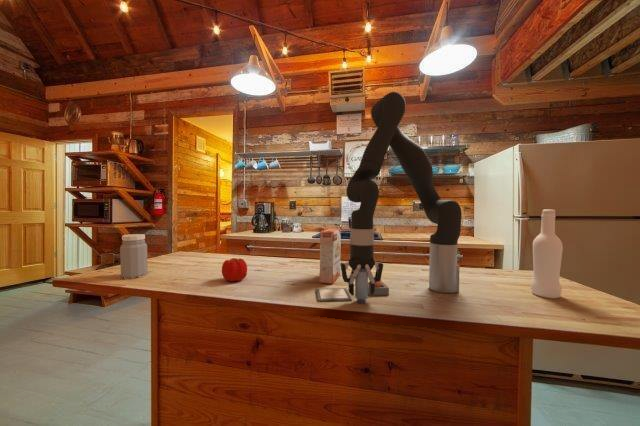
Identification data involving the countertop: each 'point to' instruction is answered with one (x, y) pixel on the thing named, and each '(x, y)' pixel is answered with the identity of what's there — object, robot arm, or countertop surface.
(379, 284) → the button
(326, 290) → the board
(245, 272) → the tomato
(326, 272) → the cracker box
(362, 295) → the grey-blue cylinder
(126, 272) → the jar
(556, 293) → the bottle
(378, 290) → the button collar
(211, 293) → the countertop surface
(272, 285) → the countertop surface
